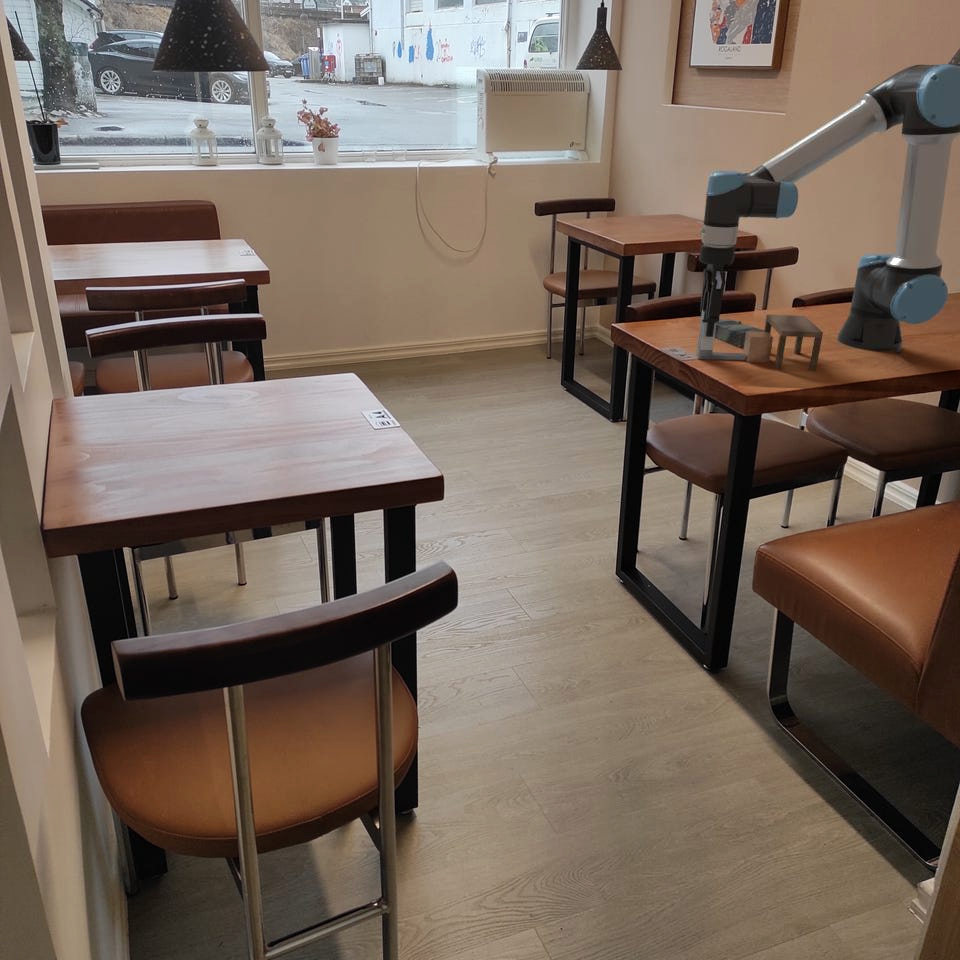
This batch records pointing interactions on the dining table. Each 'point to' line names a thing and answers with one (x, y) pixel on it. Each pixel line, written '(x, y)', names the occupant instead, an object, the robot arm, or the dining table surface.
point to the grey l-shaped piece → (754, 347)
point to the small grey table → (794, 335)
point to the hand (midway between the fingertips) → (705, 346)
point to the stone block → (733, 332)
